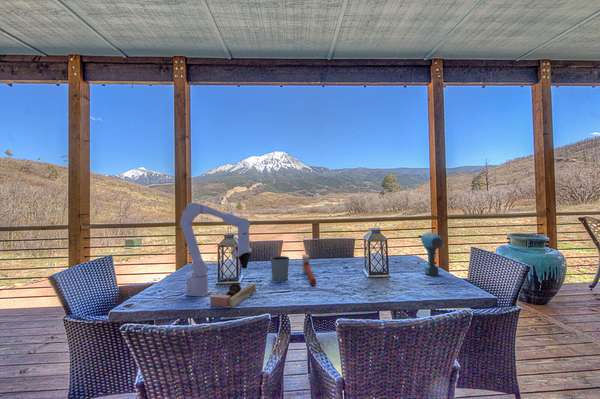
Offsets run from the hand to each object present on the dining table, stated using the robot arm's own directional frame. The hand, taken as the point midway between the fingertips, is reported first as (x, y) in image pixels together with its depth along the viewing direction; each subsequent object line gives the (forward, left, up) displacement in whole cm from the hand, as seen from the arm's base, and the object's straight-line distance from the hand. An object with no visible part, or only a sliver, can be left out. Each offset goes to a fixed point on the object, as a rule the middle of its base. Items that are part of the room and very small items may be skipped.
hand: (244, 268), depth 155 cm
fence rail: (+7, -16, -10) cm, 20 cm away
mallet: (+28, +23, -10) cm, 38 cm away
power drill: (+93, +47, -10) cm, 105 cm away
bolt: (+2, -16, -10) cm, 19 cm away
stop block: (+1, -26, -10) cm, 27 cm away
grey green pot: (+13, +17, -10) cm, 24 cm away
